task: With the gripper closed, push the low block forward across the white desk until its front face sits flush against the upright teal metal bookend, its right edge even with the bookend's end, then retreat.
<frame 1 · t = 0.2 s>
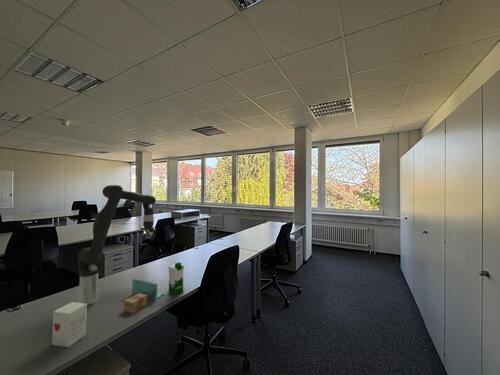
hand: (148, 240, 176), 29 cm above the table, fingers open, 8 cm apart
supplement box: (69, 340, 100), on the table
block: (135, 307, 128), on the table
bookend: (144, 296, 142), on the table
milk carton: (175, 292, 148), on the table
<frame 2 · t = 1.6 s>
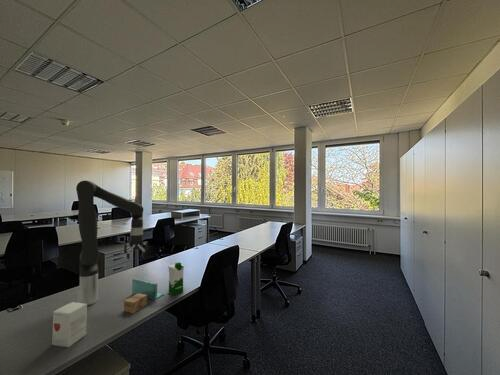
hand: (135, 258, 146), 24 cm above the table, fingers open, 8 cm apart
nothing on the table moved.
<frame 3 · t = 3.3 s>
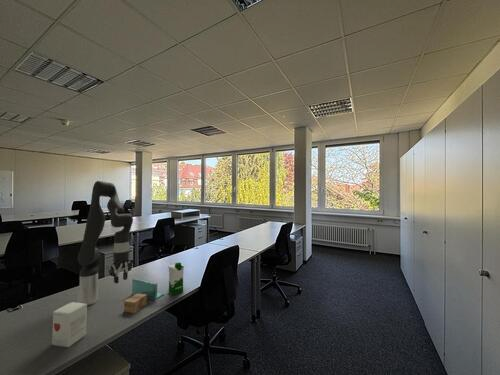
hand: (120, 281, 119), 19 cm above the table, fingers open, 4 cm apart
nothing on the table moved.
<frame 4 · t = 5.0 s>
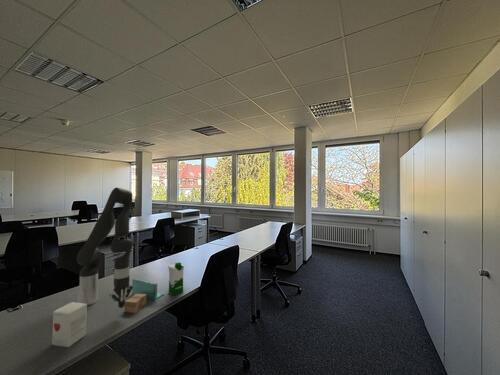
hand: (121, 307, 119), 5 cm above the table, fingers closed
nothing on the table moved.
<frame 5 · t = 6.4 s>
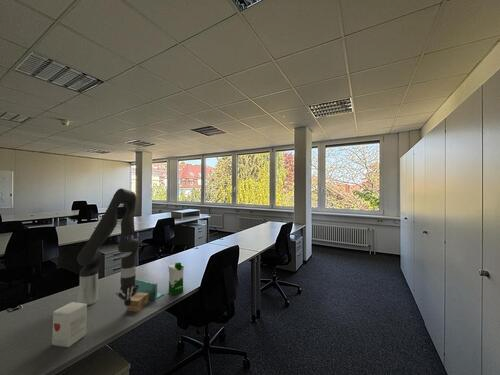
hand: (127, 305, 123), 4 cm above the table, fingers closed
block: (138, 306, 129), on the table, touching gripper
everything else where it was.
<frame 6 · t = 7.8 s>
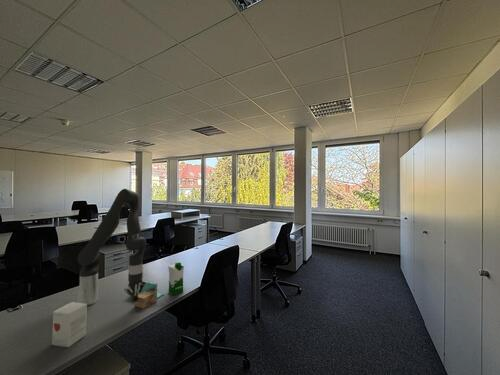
hand: (135, 301, 128), 4 cm above the table, fingers closed
block: (146, 303, 133), on the table, touching gripper
everything else where it was.
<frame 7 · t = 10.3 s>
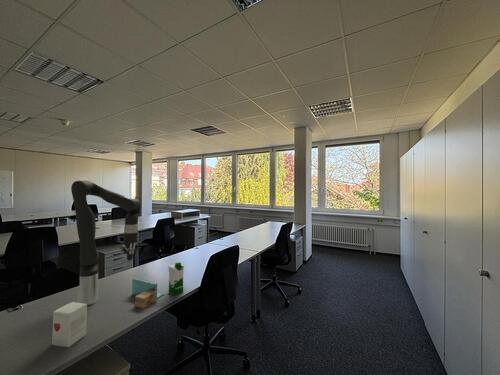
hand: (129, 260, 132), 27 cm above the table, fingers closed
block: (146, 303, 133), on the table
everything else where it was.
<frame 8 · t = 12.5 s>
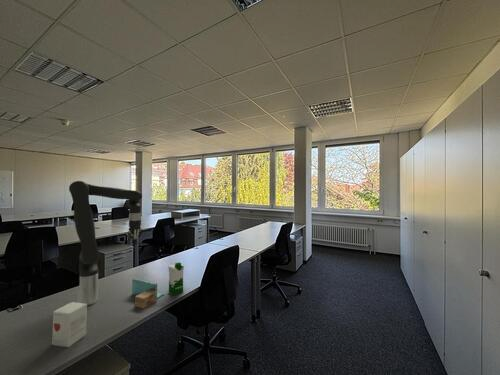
hand: (134, 244, 150), 32 cm above the table, fingers closed
nothing on the table moved.
at the end: block 2.0 cm from the target spot on the bookend, point 0.0 cm above the bookend's base; block tilted 0° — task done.
